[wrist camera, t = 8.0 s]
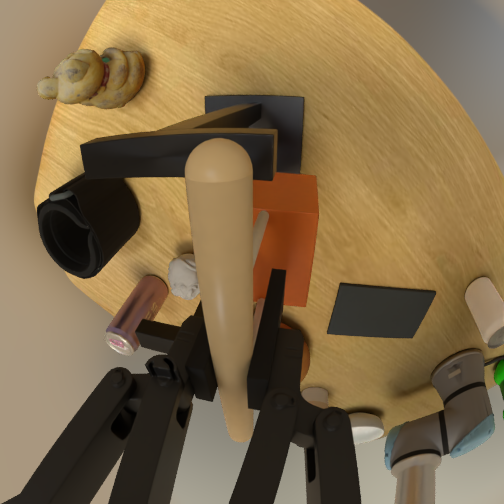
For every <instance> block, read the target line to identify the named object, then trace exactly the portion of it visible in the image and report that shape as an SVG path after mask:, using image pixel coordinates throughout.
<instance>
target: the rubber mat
mask: <svg viewBox="0 0 504 504" xmlns="http://www.w3.org/2000/svg"><path fill="white" fill-rule="evenodd" d="M435 295H436V291H428V290H415V289H403V288H391V287H379V286H368V285H357V284H346V283H340V286H339V290H338V294H337V298H336V301H335V305H334V309H333V313H332V316H331V320H330V323H329V327H328V330H327V334H334V335H347V336H363V337H383V338H413V336H414V335H415V333H416V331H417V329H418V328H419V326H420V324H421V322H422V320H423V319H424V317H425V315H426V313H427V311H428V309H429V307H430V305H431V303H432V301H433V299H434V297H435Z"/></svg>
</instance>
